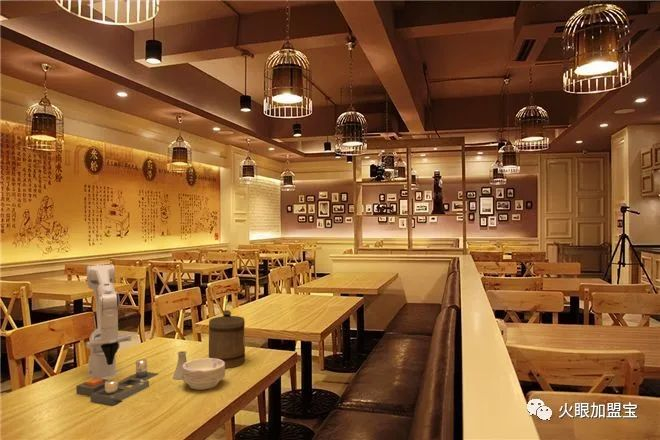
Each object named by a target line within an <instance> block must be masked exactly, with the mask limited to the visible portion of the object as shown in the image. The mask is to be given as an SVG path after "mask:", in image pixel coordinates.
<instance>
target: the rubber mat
mask: <svg viewBox="0 0 660 440" xmlns="http://www.w3.org/2000/svg"><path fill="white" fill-rule="evenodd" d="M158 375H159V373H156V372H149V371H147V377H144V378H136V373H134V374H132V375H130V376H127V377H125V378H123V379H126V378H133V379H139V380H146V381H149V380H150V379H151V378H152V379H153V378H154V377H156V376H158Z"/></svg>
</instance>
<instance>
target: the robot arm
mask: <svg viewBox="0 0 660 440" xmlns="http://www.w3.org/2000/svg"><path fill="white" fill-rule="evenodd" d="M115 275H116V271H115V266H114V264H113V263H112V264H111V263H110V264H100V265H99V264H98V265H87V267H86V280H87V281H86V282H87V288H88V289H90V290H92V291H93V293H94V298H95V312H96V313H95V314H96V324H97V325H96V326H97V328H96V329H95V330H94V331H92V332H91V334H90V338H89V341H87V342H86V348H87V349H90V355H89V357H88V363H87V365H88V366H87V367H88V375H86V377H88V378H100V379H107V380H108V378H110V377H113V376H116V375H118V374H121V371H116V369H117V367H116V365H117V364H116V354H117V351H118V350H119V349H120V343H123V342H131V341H132V335H131V334H125V335H123V334H122V335H119V316H118V315H119V307H120V295H119V292H117V291H116V289H115V286H114V281H115V277H116V276H115Z"/></svg>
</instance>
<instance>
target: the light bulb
mask: <svg viewBox="0 0 660 440" xmlns="http://www.w3.org/2000/svg"><path fill="white" fill-rule="evenodd" d="M107 380H108V381H106V382H105V395H107V396H113V395H115V394H117V393H118V382H119V380H118V379H107Z"/></svg>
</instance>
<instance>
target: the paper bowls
mask: <svg viewBox="0 0 660 440" xmlns="http://www.w3.org/2000/svg"><path fill="white" fill-rule="evenodd" d="M225 374H226V368H225V362H224V361H222V360H220V359H216V358H209V357H203V358H202V357H201V358H196V359H195V358H194V359H191V360H188V361H187V362H186V363H184V364H183V366H182V380H181V381H183V382H184V383H186V384H187V386H188V387H190V389H193V390H199V391H201V390H202V391H203V390H209V389H213V388H214V387H216V386H217V385H218V384H219V383H220V381H222V380H224V378H225V376H226V375H225Z"/></svg>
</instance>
